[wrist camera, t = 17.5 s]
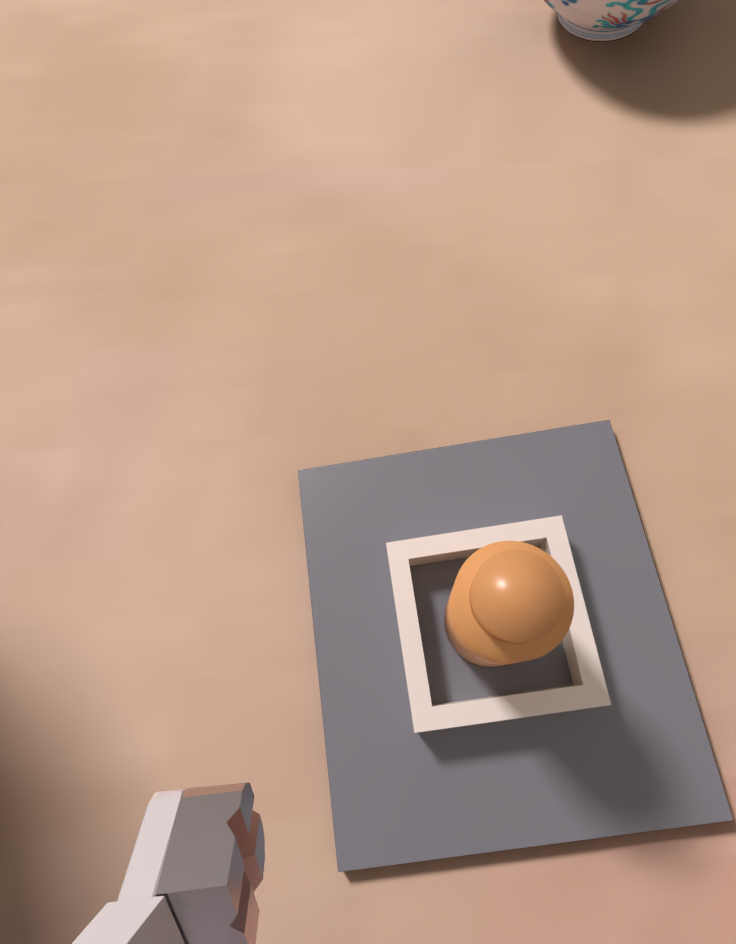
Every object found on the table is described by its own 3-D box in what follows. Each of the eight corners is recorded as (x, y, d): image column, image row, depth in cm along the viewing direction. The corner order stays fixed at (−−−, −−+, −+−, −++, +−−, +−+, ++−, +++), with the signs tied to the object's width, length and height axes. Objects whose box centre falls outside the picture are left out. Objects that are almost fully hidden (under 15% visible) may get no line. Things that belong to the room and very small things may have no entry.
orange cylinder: (451, 672, 29) (467, 668, 20) (437, 585, 31) (444, 542, 21) (539, 660, 29) (597, 650, 20) (520, 573, 31) (565, 525, 21)
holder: (340, 866, 28) (331, 885, 25) (300, 475, 35) (290, 458, 32) (724, 816, 27) (756, 830, 24) (605, 425, 34) (620, 404, 31)
